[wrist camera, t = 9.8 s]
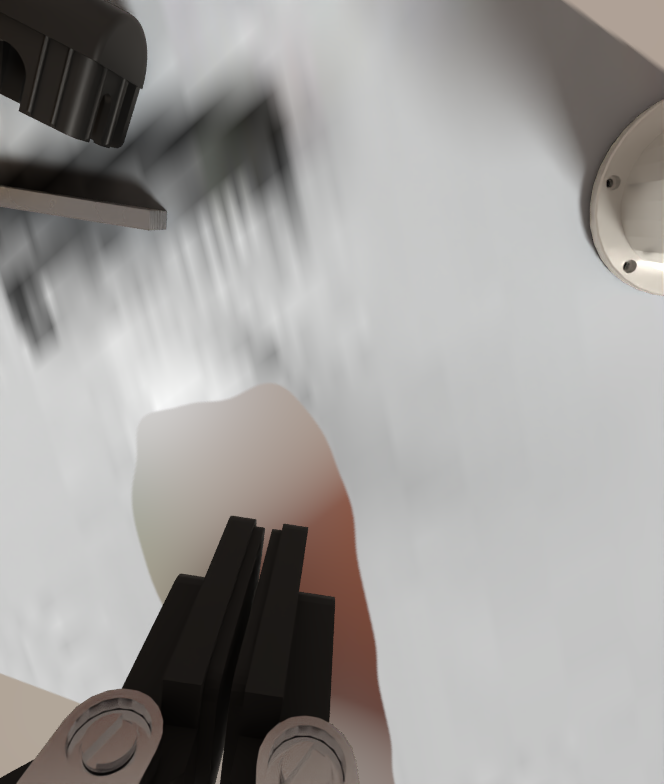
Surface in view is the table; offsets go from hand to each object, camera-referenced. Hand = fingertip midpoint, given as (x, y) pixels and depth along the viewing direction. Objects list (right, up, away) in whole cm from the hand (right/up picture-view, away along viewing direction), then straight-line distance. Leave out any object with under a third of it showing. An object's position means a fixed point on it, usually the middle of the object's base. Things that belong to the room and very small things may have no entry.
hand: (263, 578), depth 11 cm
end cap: (-15, +25, +21) cm, 36 cm away
